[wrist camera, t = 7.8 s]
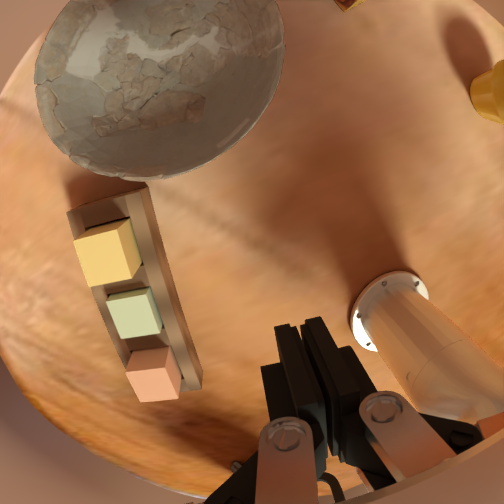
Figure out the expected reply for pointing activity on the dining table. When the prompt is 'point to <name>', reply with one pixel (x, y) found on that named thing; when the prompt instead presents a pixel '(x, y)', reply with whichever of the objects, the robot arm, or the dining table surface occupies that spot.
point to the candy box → (348, 4)
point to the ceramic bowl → (157, 81)
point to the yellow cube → (108, 252)
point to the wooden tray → (143, 281)
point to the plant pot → (489, 93)
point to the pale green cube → (135, 312)
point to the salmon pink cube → (154, 374)
